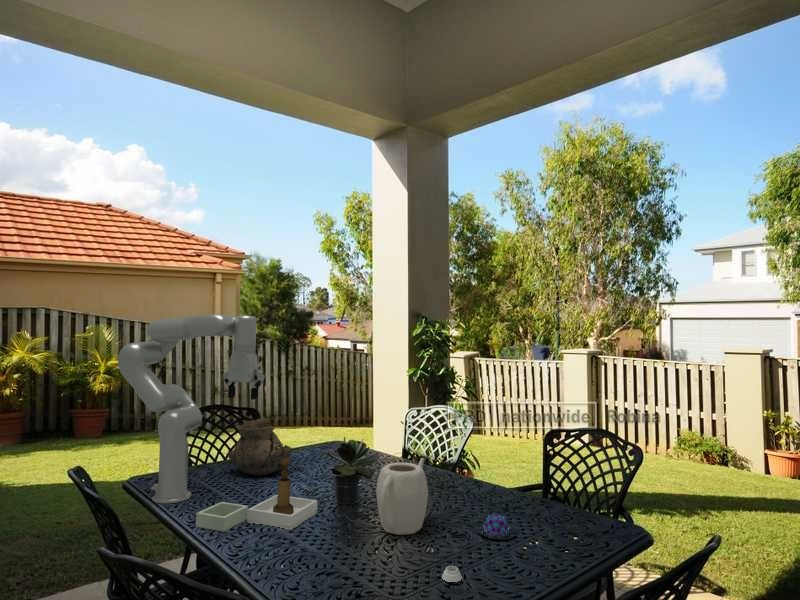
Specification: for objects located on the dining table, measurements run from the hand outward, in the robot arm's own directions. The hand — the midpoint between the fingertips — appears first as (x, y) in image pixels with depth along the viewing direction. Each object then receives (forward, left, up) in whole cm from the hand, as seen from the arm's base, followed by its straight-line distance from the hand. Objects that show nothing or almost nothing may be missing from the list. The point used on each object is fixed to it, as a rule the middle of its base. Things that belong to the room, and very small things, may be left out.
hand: (242, 398), depth 178 cm
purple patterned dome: (+89, +7, -37) cm, 96 cm away
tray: (+22, -6, -36) cm, 43 cm away
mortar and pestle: (+22, -6, -36) cm, 42 cm away
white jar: (+83, -26, -37) cm, 95 cm away
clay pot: (-16, +35, -36) cm, 53 cm away
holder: (+7, -17, -36) cm, 41 cm away
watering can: (+61, +1, -36) cm, 71 cm away
